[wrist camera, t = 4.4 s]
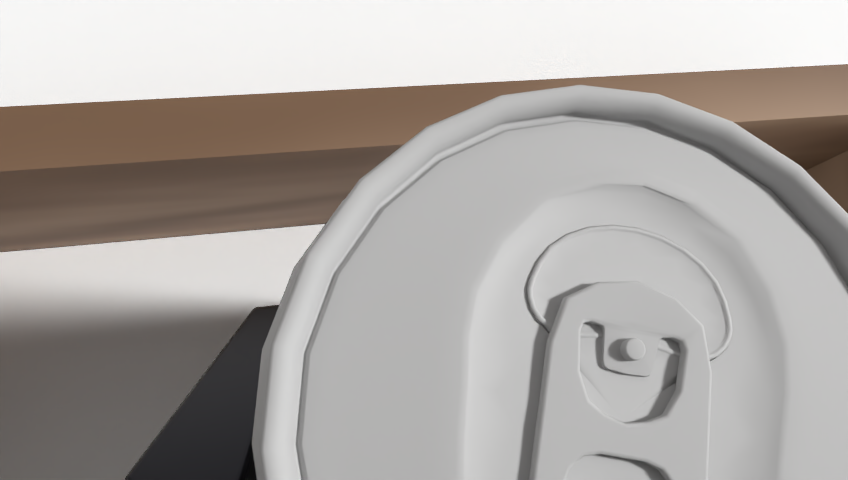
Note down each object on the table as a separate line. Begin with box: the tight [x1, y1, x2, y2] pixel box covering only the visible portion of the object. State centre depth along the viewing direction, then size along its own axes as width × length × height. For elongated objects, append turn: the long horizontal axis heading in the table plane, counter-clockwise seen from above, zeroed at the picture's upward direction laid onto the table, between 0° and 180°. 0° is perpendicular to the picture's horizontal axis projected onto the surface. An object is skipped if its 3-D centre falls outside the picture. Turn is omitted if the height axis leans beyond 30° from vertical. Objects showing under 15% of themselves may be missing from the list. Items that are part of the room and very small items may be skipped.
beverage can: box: [252, 85, 848, 480], centre depth 10 cm, size 5×5×12 cm
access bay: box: [0, 64, 848, 252], centre depth 13 cm, size 9×26×5 cm, turn 98°
